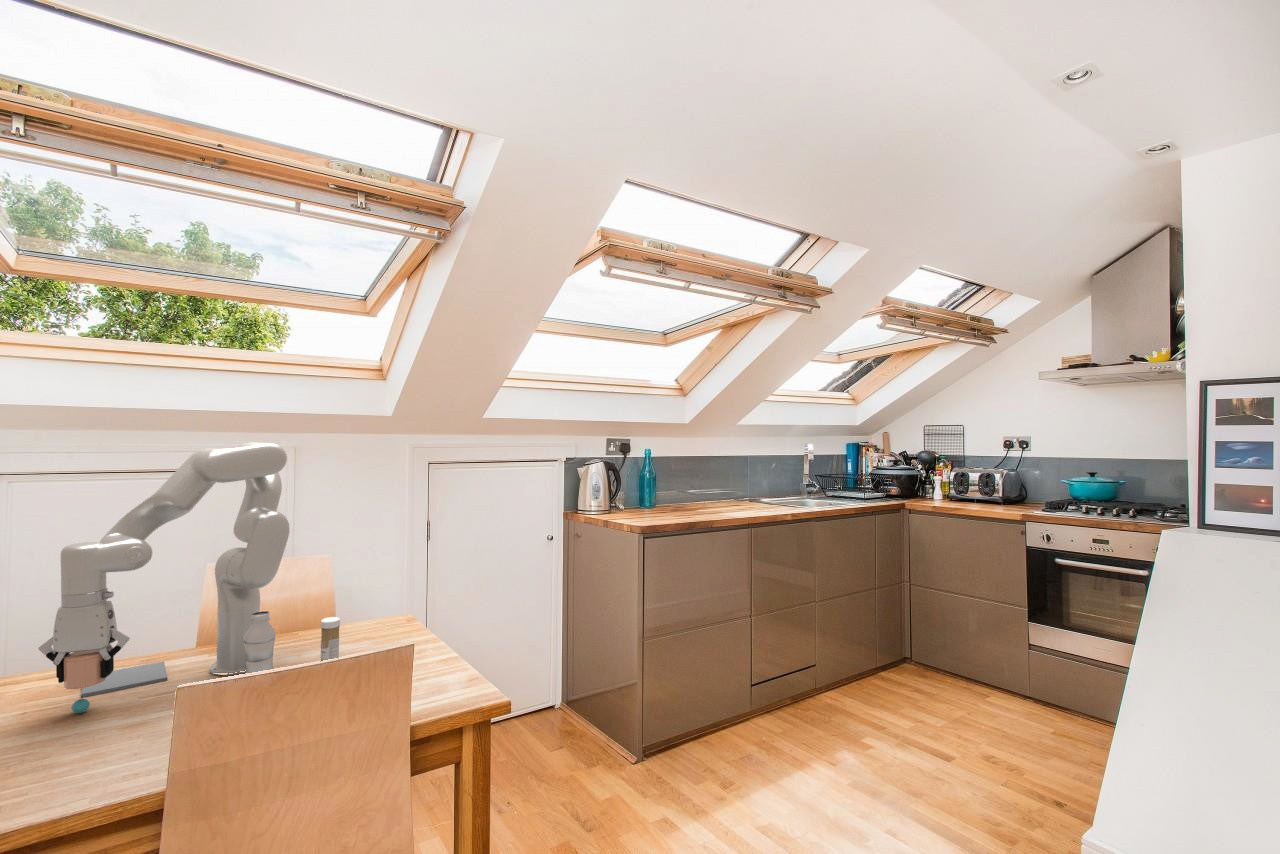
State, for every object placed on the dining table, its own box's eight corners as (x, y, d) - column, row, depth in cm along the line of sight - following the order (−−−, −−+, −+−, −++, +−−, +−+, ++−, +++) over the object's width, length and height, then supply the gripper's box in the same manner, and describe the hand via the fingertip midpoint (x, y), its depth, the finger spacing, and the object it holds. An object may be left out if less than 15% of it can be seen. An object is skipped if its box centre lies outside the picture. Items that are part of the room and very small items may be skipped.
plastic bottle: (281, 694, 148) (283, 610, 148) (256, 706, 141) (257, 618, 141) (261, 690, 150) (263, 608, 150) (235, 701, 143) (237, 615, 144)
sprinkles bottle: (316, 670, 163) (317, 619, 163) (334, 665, 166) (335, 615, 167) (324, 674, 160) (325, 622, 160) (342, 669, 163) (343, 618, 164)
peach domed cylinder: (113, 676, 141) (113, 648, 141) (86, 689, 134) (85, 659, 134) (85, 675, 141) (84, 647, 141) (56, 688, 134) (55, 659, 134)
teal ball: (93, 709, 138) (93, 696, 138) (80, 716, 135) (81, 702, 135) (80, 709, 138) (80, 696, 139) (67, 715, 136) (67, 701, 136)
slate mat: (163, 664, 166) (163, 661, 166) (167, 680, 155) (167, 677, 155) (83, 679, 155) (83, 675, 155) (81, 697, 145) (81, 694, 145)
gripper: (139, 590, 144) (140, 666, 144) (46, 597, 138) (47, 676, 139) (123, 599, 136) (124, 679, 137) (24, 607, 131) (25, 690, 131)
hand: (85, 677), depth 138 cm, fingers closed on peach domed cylinder, 7 cm apart
